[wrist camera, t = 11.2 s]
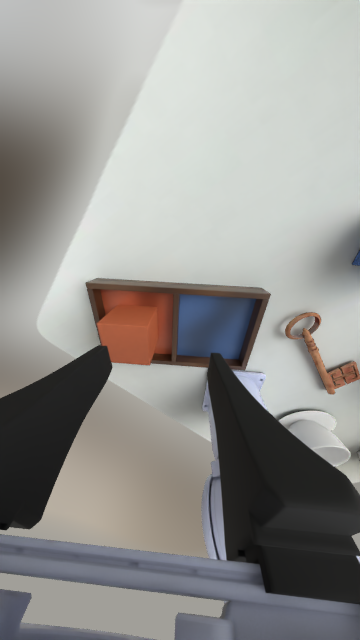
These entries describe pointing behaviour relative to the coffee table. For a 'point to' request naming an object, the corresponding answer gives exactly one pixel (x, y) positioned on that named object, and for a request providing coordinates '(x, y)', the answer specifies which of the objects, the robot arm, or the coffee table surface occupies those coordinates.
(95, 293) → the sorter
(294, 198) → the coffee table surface
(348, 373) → the key
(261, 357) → the coffee table surface
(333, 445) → the teacup
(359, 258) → the blue block
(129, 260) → the coffee table surface
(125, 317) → the terracotta block
